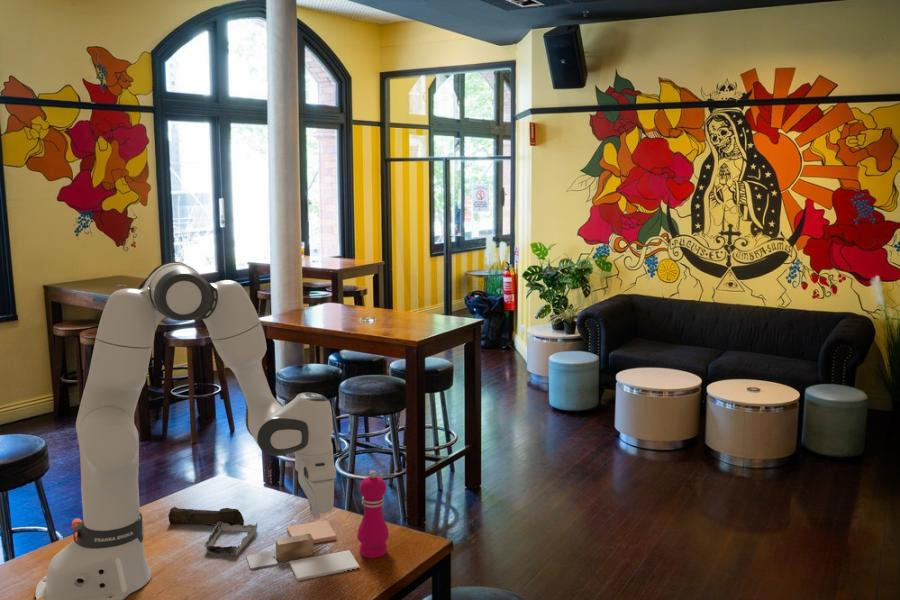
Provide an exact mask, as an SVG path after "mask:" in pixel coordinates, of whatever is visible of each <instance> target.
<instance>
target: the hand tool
mask: <svg viewBox="0 0 900 600" xmlns="http://www.w3.org/2000/svg"><path fill="white" fill-rule="evenodd" d="M167 517H168V522H169V524H170V525H171V524H175V525H177V524H197V525H199V524H200V525H214V526H217V523H218V522H221V523H222V522H223V523H224V524H225V523H227V524H230V525H231V526H233V525H242V526H245V519H244V516H243V515H242V513H241V511H240V510H239V509H237V508H230V507H223V508H220V509H219V510H209V509H208V510H207V509H206V510H205V509H192V508H178V507H176V506H173V507H171V508H170V510H169V512H168V515H167Z"/></svg>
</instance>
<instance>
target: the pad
mask: <svg viewBox="0 0 900 600" xmlns="http://www.w3.org/2000/svg"><path fill="white" fill-rule="evenodd" d="M288 561H289V562H288V563H289V567H290V568H291V570H292V572H293V574H294V577H295V579H296V581H297V582H299V581H302V580H303V581H304V580H309V579H314V578H318V577H319V578H320V577H323V576H329V575H333V574H334V575H335V574H339V573H344V571H345V572H348V571H347V570H350V571H353V570H352V569H355V570H357V569H356V568H360V565H359V563H358V562H357V559H356V557H355V556H354V555H353V554H352V552H351V550H349V549H347V550H343V551H338V552H332V553H327V554H326V553H325V554H321V555H317V556H309V557H305V558H299V559H295V560H288Z"/></svg>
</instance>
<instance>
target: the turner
mask: <svg viewBox="0 0 900 600" xmlns="http://www.w3.org/2000/svg"><path fill="white" fill-rule="evenodd" d="M311 556H314V544H313V538H312V536H311V534H304V535H299V536H293V537H290V536H288V537H282V538H278V539H277V538H276V539H275V553H274V551H267V552H262V553H256V554H251V555H246V560H247V563H248V566H249V569H250V571H252V570H257V569H265V568H268V567H274V566H278V565H279V563H278V562H281V561H286V560H287V561H289V560H291V559H297V558H299V559H300V558H303V557H311Z"/></svg>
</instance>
